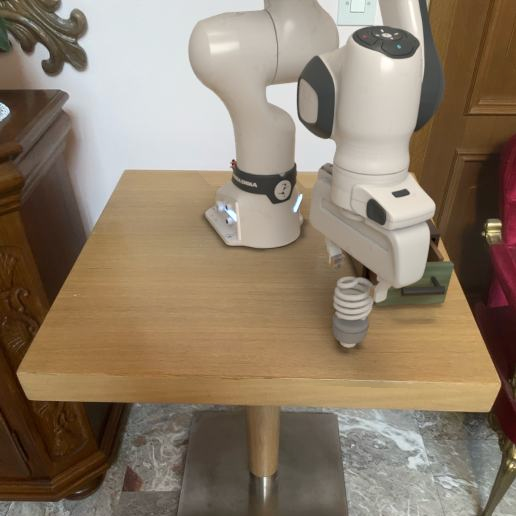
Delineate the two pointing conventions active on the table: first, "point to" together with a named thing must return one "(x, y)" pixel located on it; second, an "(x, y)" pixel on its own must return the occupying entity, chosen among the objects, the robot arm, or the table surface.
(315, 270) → the table surface
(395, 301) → the drawer
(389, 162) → the robot arm
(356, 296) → the light bulb
